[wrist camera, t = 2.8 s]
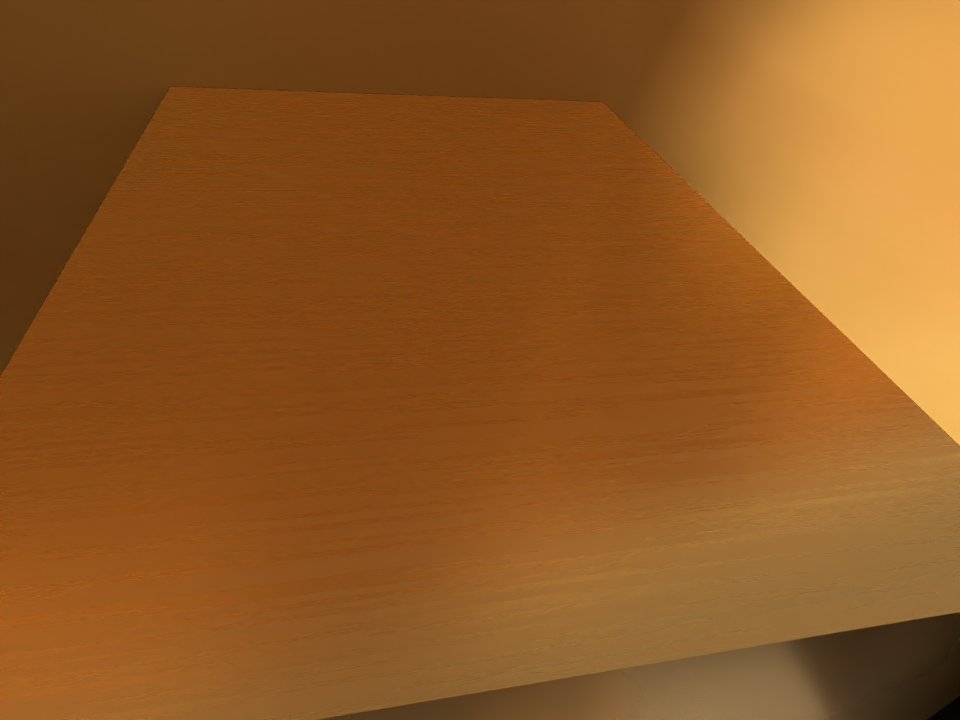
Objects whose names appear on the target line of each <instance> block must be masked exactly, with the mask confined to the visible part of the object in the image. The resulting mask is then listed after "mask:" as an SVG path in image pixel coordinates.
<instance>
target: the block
mask: <svg viewBox="0 0 960 720" xmlns="http://www.w3.org/2000/svg"><path fill="white" fill-rule="evenodd" d="M959 696H960V446H959V445H958V444H957V443H956V442H955V441H954V440H953V439H952V438H951V437H950V436H949V435H948V434H947V433H946V432H945V431H944V430H943V429H942V428H941V427H940V426H939V425H938V424H936V423H935V422H934V421H933V420H932V419H931V418H930V417H929V416H928V415H927V414H926V413H925V412H924V411H923V410H922V409H921V408H920V407H919V406H918V405H917V404H916V403H915V402H914V401H913V400H912V399H911V398H909V397H908V396H907V395H906V394H905V393H904V392H903V391H902V390H901V389H900V388H899V387H898V386H897V385H896V384H895V383H894V382H893V381H892V380H891V379H890V378H889V377H888V376H887V375H886V374H885V373H883V372H882V371H881V370H880V369H879V368H878V367H877V366H876V365H875V364H874V363H873V362H872V361H871V360H870V359H869V358H868V357H867V356H866V355H865V354H864V353H863V352H862V351H861V350H860V349H859V348H858V347H856V346H855V345H854V344H853V343H852V342H851V341H850V340H849V339H848V338H847V337H846V336H845V335H844V334H843V333H842V332H841V331H840V330H839V329H838V328H837V327H836V326H835V325H834V324H833V323H832V322H830V321H829V320H828V319H827V318H826V317H825V316H824V315H823V314H822V313H821V312H820V311H819V310H818V309H817V308H816V307H815V306H814V305H813V304H812V303H811V302H810V301H809V300H808V299H807V298H806V297H805V296H803V295H802V294H801V293H800V292H799V291H798V290H797V289H796V288H795V287H794V286H793V285H792V284H791V283H790V282H789V281H788V280H787V279H786V278H785V277H784V276H783V275H782V274H781V273H780V272H779V271H777V270H776V269H775V268H774V267H773V266H772V265H771V264H770V263H769V262H768V261H767V260H766V259H765V258H764V257H763V256H762V255H761V254H760V253H759V252H758V251H757V250H756V249H755V248H754V247H753V246H751V245H750V244H749V243H748V242H747V241H746V240H745V239H744V238H743V237H742V236H741V235H740V234H739V233H738V232H737V231H736V230H735V229H734V228H733V227H732V226H731V225H730V224H729V223H728V222H727V221H726V220H724V219H723V218H722V217H721V216H720V215H719V214H718V213H717V212H716V211H715V210H714V209H713V208H712V207H711V206H710V205H709V204H708V203H707V202H706V201H705V200H704V199H703V198H702V197H701V196H700V195H698V194H697V193H696V192H695V191H694V190H693V189H692V188H691V187H690V186H689V185H688V184H687V183H686V182H685V181H684V180H683V179H682V178H681V177H680V176H679V175H678V174H677V173H676V172H675V171H674V170H673V169H671V168H670V167H669V166H668V165H667V164H666V163H665V162H664V161H663V160H662V159H661V158H660V157H659V156H658V155H657V154H656V153H655V152H654V151H653V150H652V149H651V148H650V147H649V146H648V145H647V144H645V143H644V142H643V141H642V140H641V139H640V138H639V137H638V136H637V135H636V134H635V133H634V132H633V131H632V130H631V129H630V128H629V127H628V126H627V125H626V124H625V123H624V122H623V121H622V120H621V119H620V118H618V117H617V116H616V115H615V114H614V113H613V112H612V111H611V110H610V109H609V108H608V107H607V106H606V105H605V104H604V103H603V102H592V101H563V100H535V99H507V98H479V97H450V96H422V95H394V94H366V93H338V92H309V91H281V90H253V89H225V88H197V87H170V88H169V90H168V91H167V93H166V95H165V96H164V98H163V100H162V102H161V103H160V105H159V107H158V108H157V110H156V112H155V113H154V115H153V117H152V119H151V120H150V122H149V124H148V125H147V127H146V129H145V131H144V132H143V134H142V136H141V137H140V139H139V141H138V142H137V144H136V146H135V148H134V149H133V151H132V153H131V154H130V156H129V158H128V160H127V161H126V163H125V165H124V166H123V168H122V170H121V171H120V173H119V175H118V177H117V178H116V180H115V182H114V183H113V185H112V187H111V189H110V190H109V192H108V194H107V195H106V197H105V199H104V200H103V202H102V204H101V206H100V207H99V209H98V211H97V212H96V214H95V216H94V218H93V219H92V221H91V223H90V224H89V226H88V228H87V229H86V231H85V233H84V235H83V236H82V238H81V240H80V241H79V243H78V245H77V247H76V248H75V250H74V252H73V253H72V255H71V257H70V259H69V260H68V262H67V264H66V265H65V267H64V269H63V270H62V272H61V274H60V276H59V277H58V279H57V281H56V282H55V284H54V286H53V288H52V289H51V291H50V293H49V294H48V296H47V298H46V299H45V301H44V303H43V305H42V306H41V308H40V310H39V311H38V313H37V315H36V317H35V318H34V320H33V322H32V323H31V325H30V327H29V328H28V330H27V332H26V334H25V335H24V337H23V339H22V340H21V342H20V344H19V346H18V347H17V349H16V351H15V352H14V354H13V356H12V357H11V359H10V361H9V363H8V364H7V366H6V368H5V369H4V371H3V373H2V375H1V376H0V720H927V719H929V718H930V717H931V716H933V715H934V714H935V713H937V712H938V711H939V710H941V709H942V708H944V707H945V706H946V705H948V704H949V703H950V702H952V701H953V700H954V699H956V698H957V697H959Z"/></svg>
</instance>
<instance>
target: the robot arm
mask: <svg viewBox="0 0 960 720" xmlns="http://www.w3.org/2000/svg"><path fill="white" fill-rule="evenodd" d="M927 720H960V696H959V697H957V698H956V699H954V700H953V701H952V702H950V703H949V704H948V705H946V706H945V707H944V708H942V709H941V710H939V711H938V712H937V713H935V714H934V715H933V716H931V717H930V718H929V719H927Z"/></svg>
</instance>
